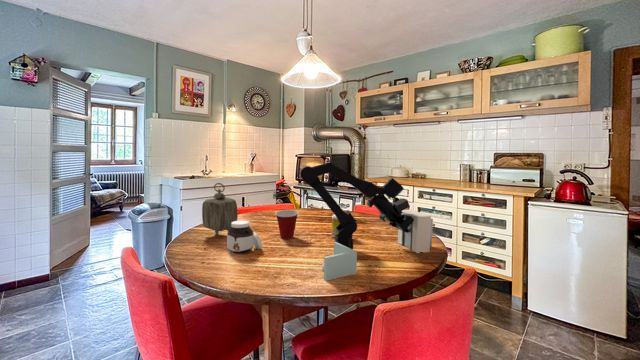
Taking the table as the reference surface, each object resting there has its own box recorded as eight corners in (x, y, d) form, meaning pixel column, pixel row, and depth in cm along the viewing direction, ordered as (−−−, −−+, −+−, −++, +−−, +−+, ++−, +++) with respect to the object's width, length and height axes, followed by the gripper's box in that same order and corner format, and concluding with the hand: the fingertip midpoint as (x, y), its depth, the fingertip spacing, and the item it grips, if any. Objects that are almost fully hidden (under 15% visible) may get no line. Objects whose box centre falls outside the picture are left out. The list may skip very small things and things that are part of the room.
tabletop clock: (237, 236, 138) (237, 183, 136) (222, 241, 131) (221, 184, 128) (217, 232, 146) (216, 181, 144) (201, 236, 138) (199, 182, 136)
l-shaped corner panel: (335, 262, 108) (335, 242, 107) (356, 273, 98) (356, 251, 97) (306, 268, 101) (306, 247, 101) (325, 281, 91) (326, 257, 91)
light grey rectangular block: (410, 249, 122) (411, 220, 121) (404, 245, 127) (405, 217, 126) (431, 247, 125) (432, 219, 124) (424, 243, 130) (425, 216, 129)
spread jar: (224, 251, 117) (223, 222, 116) (244, 244, 127) (243, 217, 126) (247, 257, 111) (247, 226, 110) (266, 248, 121) (266, 220, 120)
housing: (416, 253, 118) (417, 216, 117) (397, 242, 131) (398, 210, 130) (429, 251, 119) (430, 216, 118) (409, 241, 133) (410, 209, 132)
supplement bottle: (340, 239, 136) (341, 211, 135) (328, 236, 140) (329, 209, 139) (348, 236, 141) (348, 209, 140) (336, 233, 145) (337, 207, 144)
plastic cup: (270, 239, 134) (270, 213, 133) (280, 233, 145) (280, 209, 143) (293, 241, 131) (293, 215, 130) (301, 235, 141) (302, 210, 140)
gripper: (410, 195, 112) (434, 222, 116) (386, 189, 130) (408, 213, 134) (391, 216, 111) (415, 243, 114) (369, 208, 129) (391, 231, 132)
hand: (407, 231), depth 124 cm, fingers closed, pressing on light grey rectangular block
